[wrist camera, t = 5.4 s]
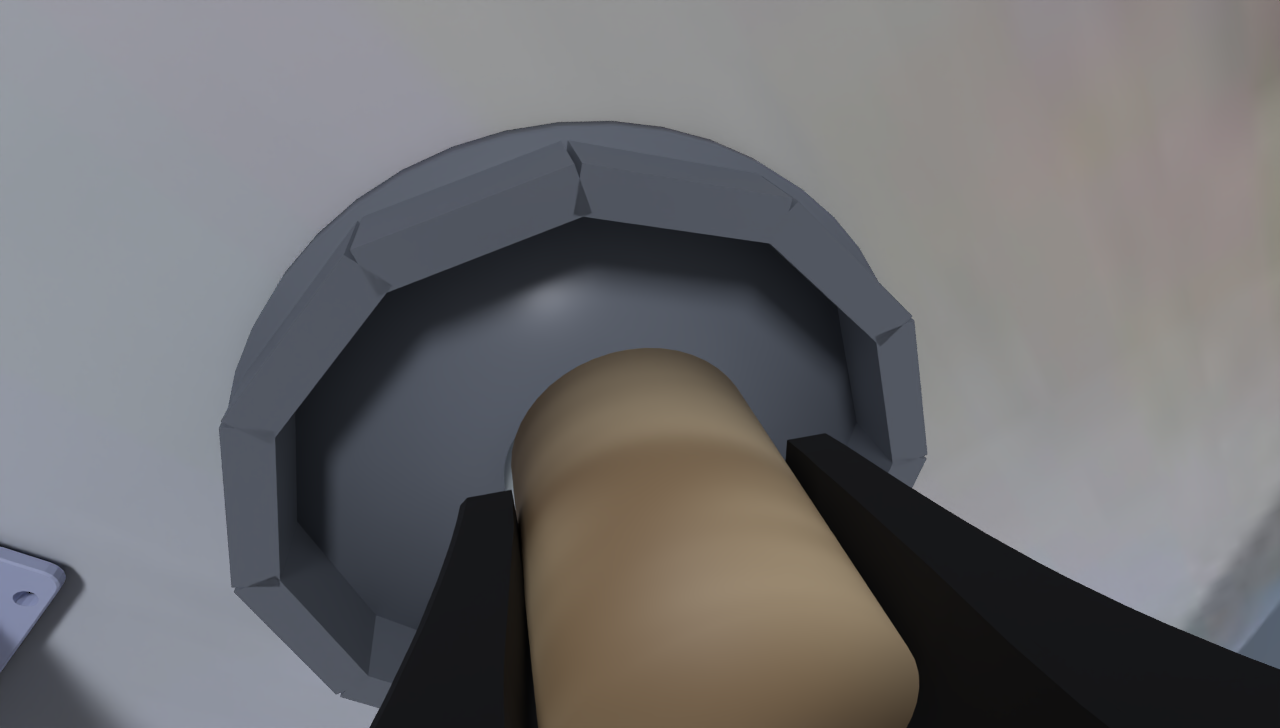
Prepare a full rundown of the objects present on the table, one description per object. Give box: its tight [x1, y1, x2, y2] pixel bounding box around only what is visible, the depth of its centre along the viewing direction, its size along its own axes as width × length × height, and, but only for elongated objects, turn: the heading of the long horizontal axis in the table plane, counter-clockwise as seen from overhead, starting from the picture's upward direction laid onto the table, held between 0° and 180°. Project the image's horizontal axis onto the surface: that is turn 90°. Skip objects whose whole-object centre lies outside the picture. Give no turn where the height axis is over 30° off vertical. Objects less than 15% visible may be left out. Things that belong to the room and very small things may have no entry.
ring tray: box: [219, 121, 927, 708], centre depth 18 cm, size 18×18×3 cm
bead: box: [511, 348, 919, 728], centre depth 9 cm, size 4×4×5 cm
